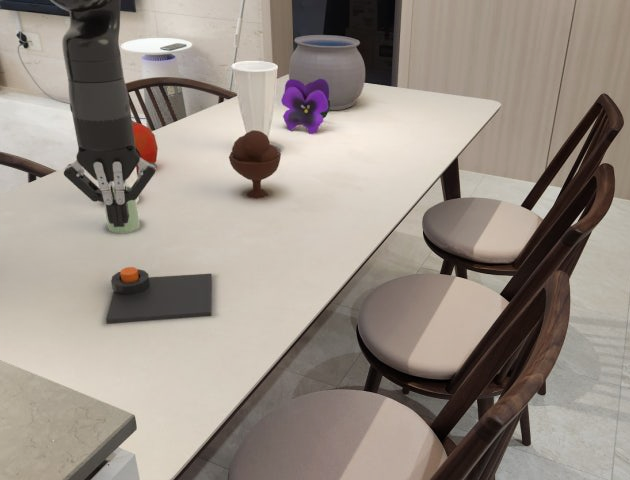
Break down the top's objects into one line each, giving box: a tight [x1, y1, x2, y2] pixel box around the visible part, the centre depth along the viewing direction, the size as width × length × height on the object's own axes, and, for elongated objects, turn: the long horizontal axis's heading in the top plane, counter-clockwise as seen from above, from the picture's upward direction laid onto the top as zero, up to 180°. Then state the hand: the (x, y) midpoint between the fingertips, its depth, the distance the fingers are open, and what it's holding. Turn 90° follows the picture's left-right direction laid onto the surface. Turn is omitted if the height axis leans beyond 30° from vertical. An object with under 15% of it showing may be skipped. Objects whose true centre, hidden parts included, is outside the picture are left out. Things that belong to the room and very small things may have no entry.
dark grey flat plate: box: [105, 268, 213, 325], centre depth 100 cm, size 15×12×3 cm
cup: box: [230, 60, 281, 153], centre depth 160 cm, size 12×12×22 cm
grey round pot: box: [288, 34, 366, 111], centre depth 205 cm, size 25×25×20 cm
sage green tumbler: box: [103, 186, 141, 234], centre depth 120 cm, size 6×6×8 cm
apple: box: [132, 122, 158, 172], centre depth 148 cm, size 10×10×12 cm
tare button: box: [119, 266, 139, 283], centre depth 101 cm, size 3×3×2 cm
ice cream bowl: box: [228, 130, 282, 199], centre depth 135 cm, size 11×11×15 cm
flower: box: [280, 79, 330, 135], centre depth 185 cm, size 15×15×14 cm
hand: (119, 224), depth 96 cm, fingers closed
